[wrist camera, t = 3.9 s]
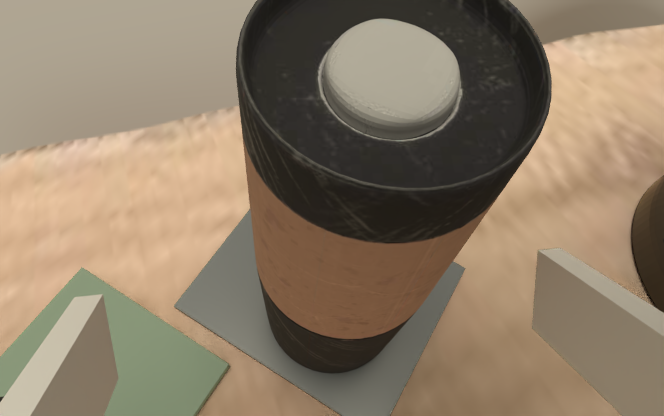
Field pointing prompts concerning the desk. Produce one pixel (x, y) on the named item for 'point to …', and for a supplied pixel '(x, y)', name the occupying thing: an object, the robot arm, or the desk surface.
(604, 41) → the desk surface
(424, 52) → the travel mug
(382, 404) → the card
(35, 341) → the sage green mat
